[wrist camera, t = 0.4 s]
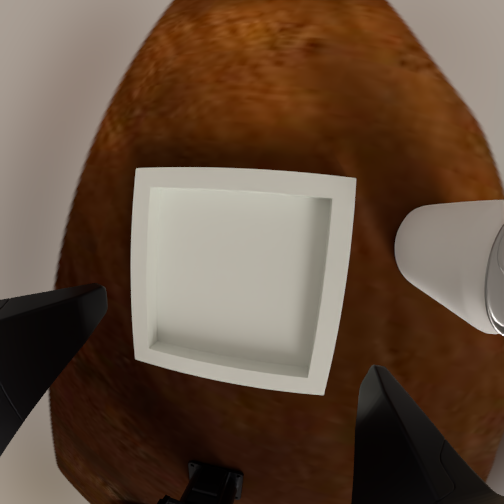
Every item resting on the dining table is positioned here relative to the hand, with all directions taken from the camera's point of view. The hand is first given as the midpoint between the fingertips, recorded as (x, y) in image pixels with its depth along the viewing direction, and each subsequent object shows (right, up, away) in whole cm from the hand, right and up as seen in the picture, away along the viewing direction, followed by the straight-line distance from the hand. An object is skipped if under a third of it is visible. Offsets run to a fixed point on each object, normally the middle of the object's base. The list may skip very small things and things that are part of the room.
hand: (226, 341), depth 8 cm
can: (+15, +3, +11) cm, 19 cm away
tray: (0, +1, +14) cm, 14 cm away
